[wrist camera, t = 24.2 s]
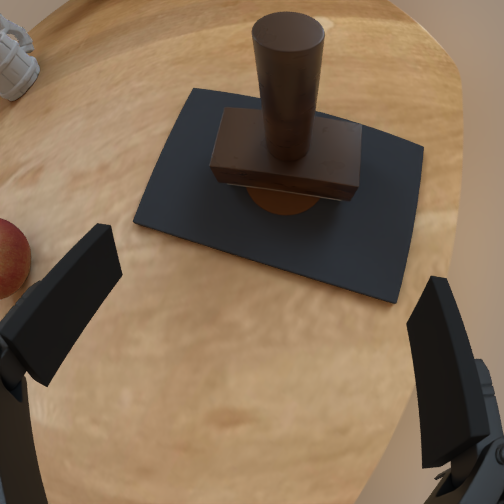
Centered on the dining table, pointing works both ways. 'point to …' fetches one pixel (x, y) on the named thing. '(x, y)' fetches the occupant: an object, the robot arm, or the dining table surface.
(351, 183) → the scrub brush
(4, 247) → the apple
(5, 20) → the mug
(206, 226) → the stain mat
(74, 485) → the dining table surface
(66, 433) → the dining table surface
